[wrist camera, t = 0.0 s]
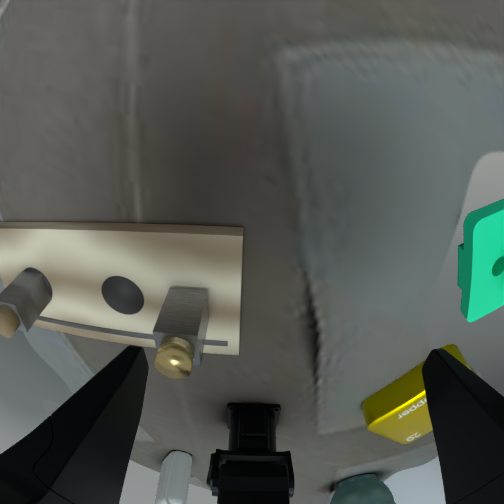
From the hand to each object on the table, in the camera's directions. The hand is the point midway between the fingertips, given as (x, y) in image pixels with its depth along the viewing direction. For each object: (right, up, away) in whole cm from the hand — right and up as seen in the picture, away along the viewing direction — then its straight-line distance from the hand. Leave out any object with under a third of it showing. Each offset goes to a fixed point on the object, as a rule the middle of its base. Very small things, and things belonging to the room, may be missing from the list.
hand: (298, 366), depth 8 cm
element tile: (+23, -16, +26) cm, 38 cm away
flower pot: (+24, -52, +45) cm, 72 cm away
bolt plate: (-15, 0, +17) cm, 23 cm away
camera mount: (+22, +3, +15) cm, 27 cm away
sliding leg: (-6, -1, +15) cm, 16 cm away
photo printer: (-15, -35, +36) cm, 52 cm away
